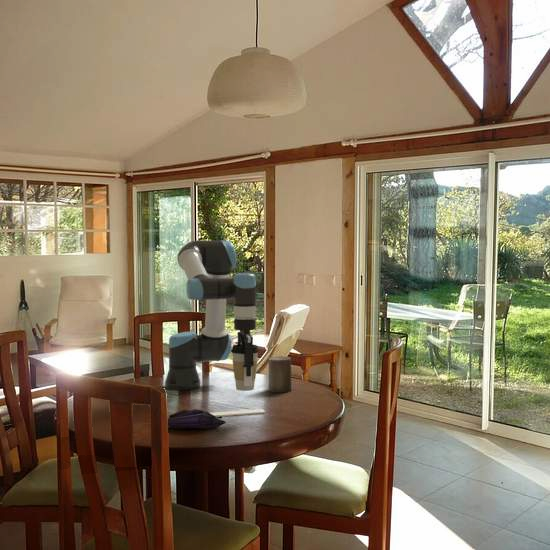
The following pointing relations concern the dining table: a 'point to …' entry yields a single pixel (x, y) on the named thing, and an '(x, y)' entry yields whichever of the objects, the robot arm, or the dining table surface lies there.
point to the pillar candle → (279, 374)
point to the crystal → (194, 420)
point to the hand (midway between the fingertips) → (245, 382)
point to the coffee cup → (239, 369)
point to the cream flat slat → (238, 412)
